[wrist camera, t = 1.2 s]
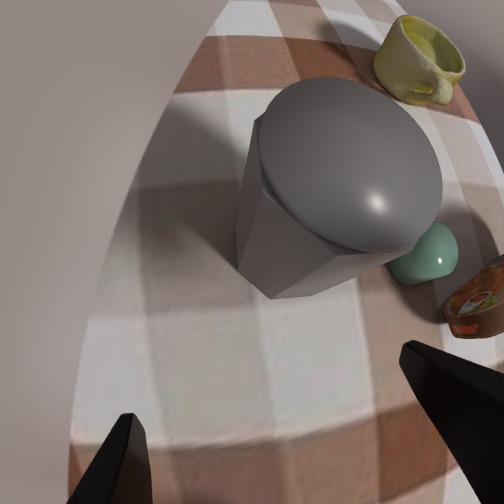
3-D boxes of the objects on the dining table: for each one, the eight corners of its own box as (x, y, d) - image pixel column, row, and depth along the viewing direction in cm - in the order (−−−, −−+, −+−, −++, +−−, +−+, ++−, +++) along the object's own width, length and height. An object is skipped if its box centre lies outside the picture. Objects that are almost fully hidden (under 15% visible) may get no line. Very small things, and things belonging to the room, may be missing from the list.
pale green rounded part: (431, 257, 24) (463, 243, 19) (414, 295, 23) (448, 286, 18) (399, 229, 24) (429, 210, 20) (380, 267, 23) (411, 252, 18)
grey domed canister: (324, 201, 24) (408, 91, 11) (338, 293, 22) (461, 243, 9) (232, 203, 23) (251, 70, 10) (240, 301, 21) (273, 254, 8)
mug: (363, 29, 29) (414, -7, 20) (418, 75, 32) (471, 52, 23) (344, 91, 28) (409, 53, 19) (408, 142, 31) (475, 123, 22)
